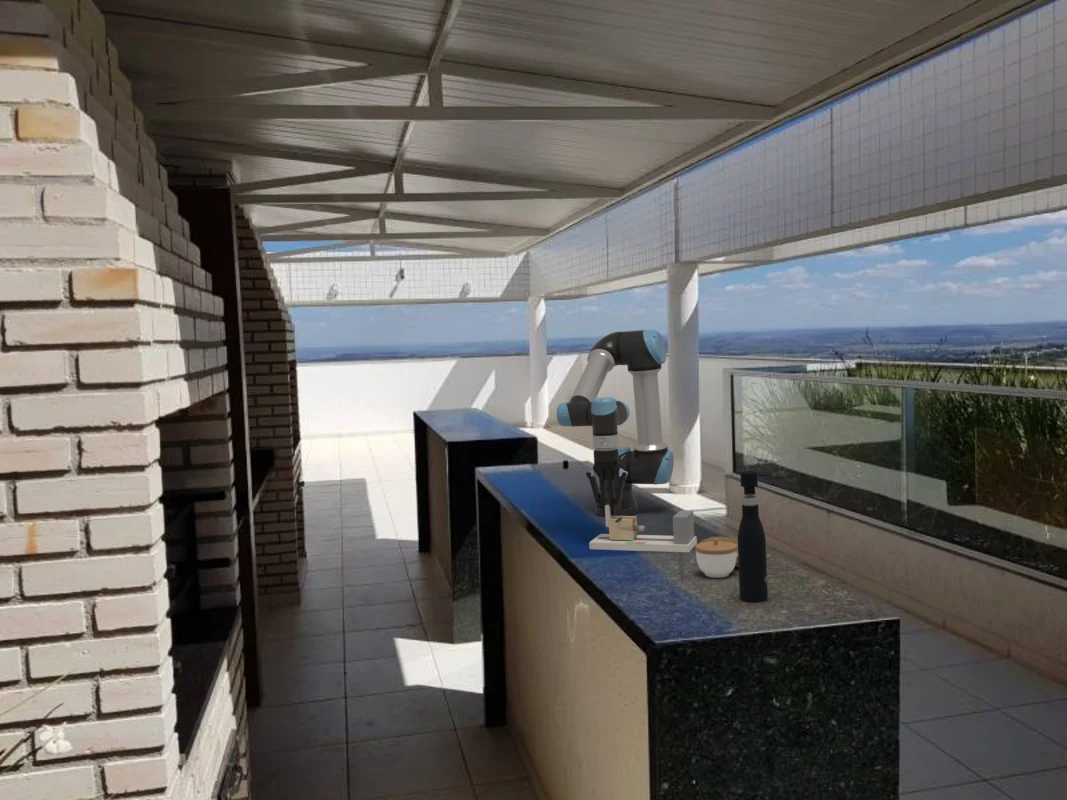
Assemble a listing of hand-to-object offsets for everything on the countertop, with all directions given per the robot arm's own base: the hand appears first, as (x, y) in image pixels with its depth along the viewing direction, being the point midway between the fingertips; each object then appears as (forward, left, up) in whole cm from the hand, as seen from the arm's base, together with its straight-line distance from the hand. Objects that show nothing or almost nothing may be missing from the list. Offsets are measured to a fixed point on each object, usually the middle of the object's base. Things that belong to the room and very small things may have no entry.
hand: (609, 526), depth 281 cm
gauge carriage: (+2, +6, -3) cm, 7 cm away
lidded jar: (+29, +37, -6) cm, 48 cm away
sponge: (+15, +38, -6) cm, 42 cm away
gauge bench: (0, +10, -6) cm, 12 cm away
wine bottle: (+49, +49, -6) cm, 70 cm away
